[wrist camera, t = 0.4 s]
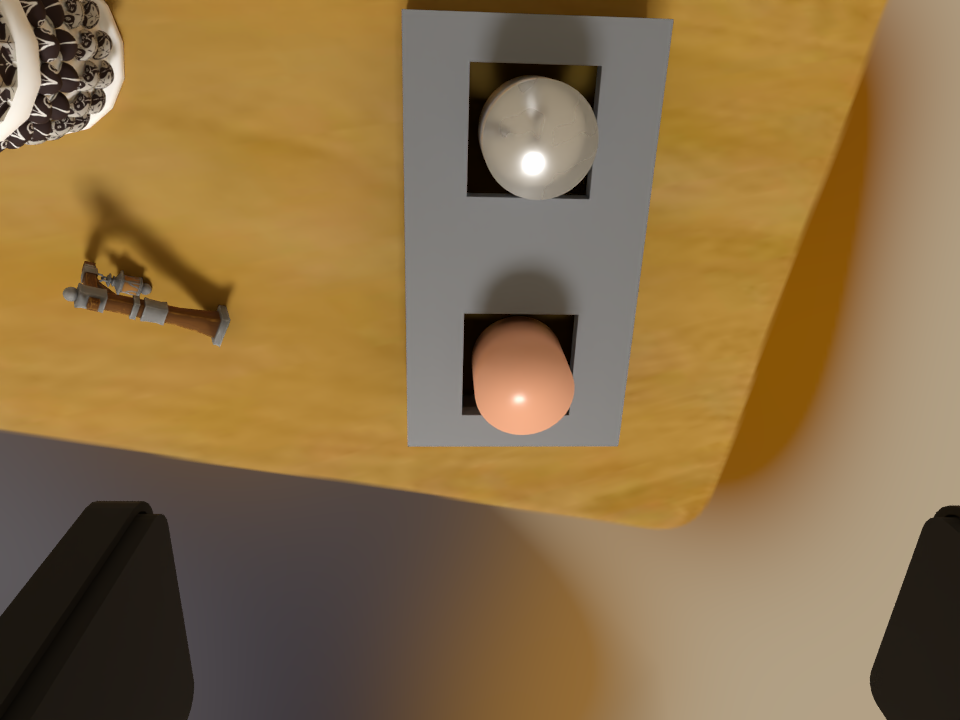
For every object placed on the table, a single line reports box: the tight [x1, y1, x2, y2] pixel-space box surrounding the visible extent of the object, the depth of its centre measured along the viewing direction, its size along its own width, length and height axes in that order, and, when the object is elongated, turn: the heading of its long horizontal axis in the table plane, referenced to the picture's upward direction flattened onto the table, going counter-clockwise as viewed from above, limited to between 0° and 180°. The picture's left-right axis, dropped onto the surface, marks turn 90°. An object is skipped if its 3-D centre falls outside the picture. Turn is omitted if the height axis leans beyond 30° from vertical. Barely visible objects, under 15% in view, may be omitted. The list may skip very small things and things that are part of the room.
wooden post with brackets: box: [63, 261, 230, 347], centre depth 38 cm, size 2×8×4 cm, turn 63°
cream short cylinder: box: [478, 75, 599, 200], centre depth 32 cm, size 5×5×4 cm
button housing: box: [402, 9, 674, 446], centre depth 37 cm, size 22×12×4 cm, turn 178°
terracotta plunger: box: [471, 316, 574, 435], centre depth 37 cm, size 5×5×4 cm
